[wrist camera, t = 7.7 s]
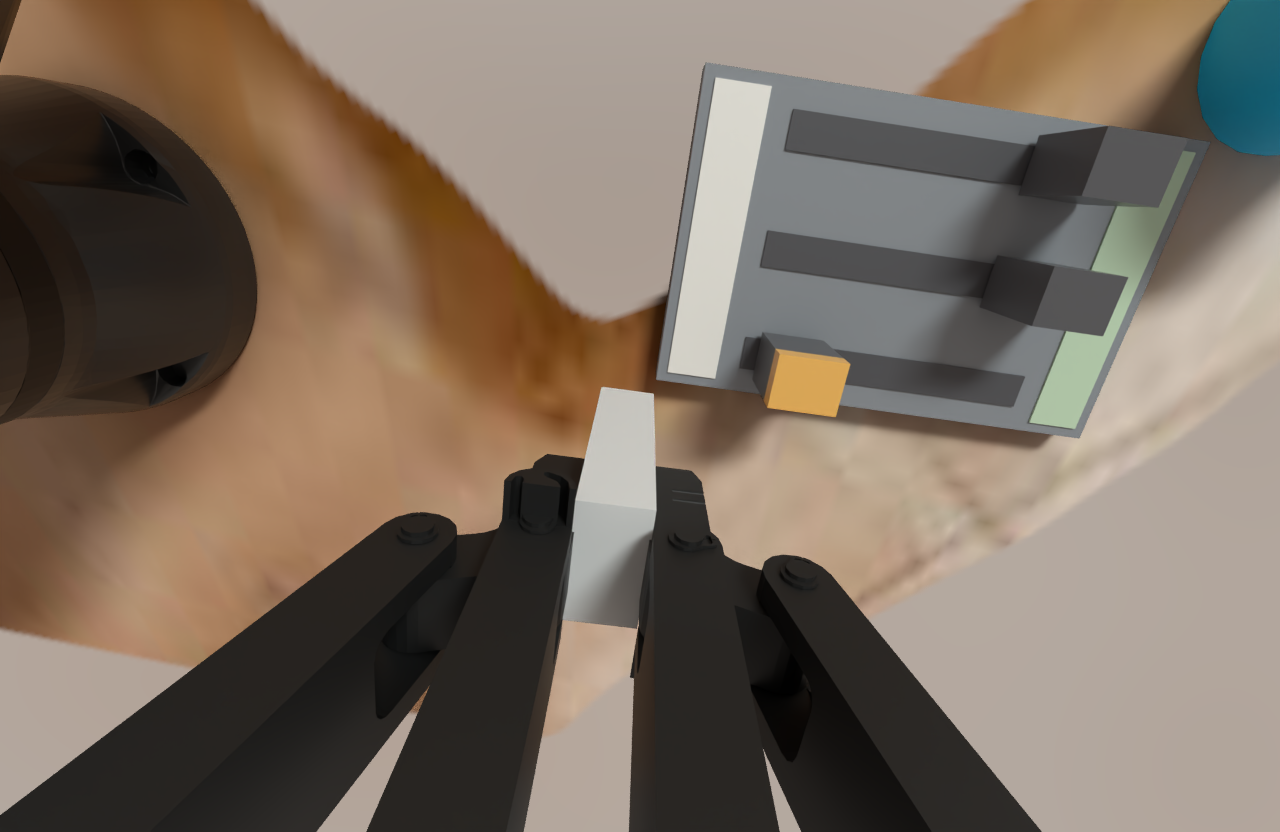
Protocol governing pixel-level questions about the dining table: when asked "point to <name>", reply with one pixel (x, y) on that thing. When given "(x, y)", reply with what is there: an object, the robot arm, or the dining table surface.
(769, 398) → the breaker
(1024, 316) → the breaker
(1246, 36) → the mug
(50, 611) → the dining table surface
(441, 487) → the dining table surface
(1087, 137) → the block
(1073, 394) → the panel
